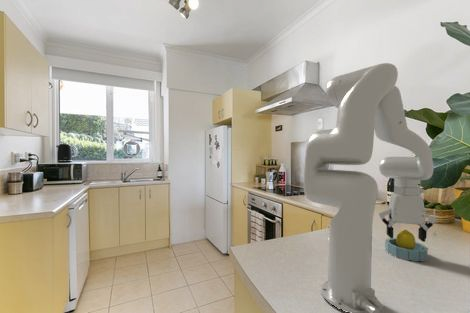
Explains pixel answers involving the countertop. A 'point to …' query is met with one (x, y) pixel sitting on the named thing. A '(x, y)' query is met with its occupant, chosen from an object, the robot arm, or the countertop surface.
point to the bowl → (407, 251)
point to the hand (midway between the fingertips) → (405, 238)
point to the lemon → (405, 240)
